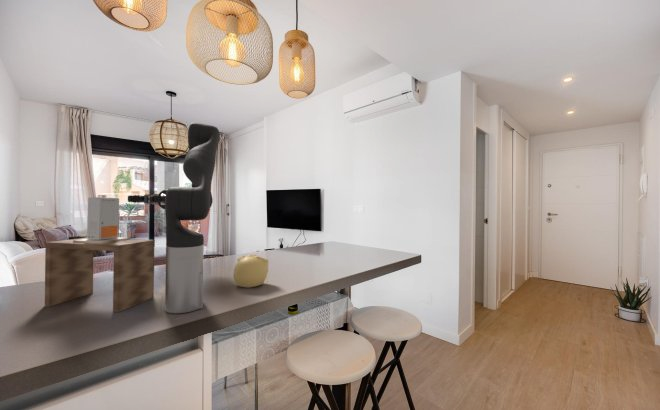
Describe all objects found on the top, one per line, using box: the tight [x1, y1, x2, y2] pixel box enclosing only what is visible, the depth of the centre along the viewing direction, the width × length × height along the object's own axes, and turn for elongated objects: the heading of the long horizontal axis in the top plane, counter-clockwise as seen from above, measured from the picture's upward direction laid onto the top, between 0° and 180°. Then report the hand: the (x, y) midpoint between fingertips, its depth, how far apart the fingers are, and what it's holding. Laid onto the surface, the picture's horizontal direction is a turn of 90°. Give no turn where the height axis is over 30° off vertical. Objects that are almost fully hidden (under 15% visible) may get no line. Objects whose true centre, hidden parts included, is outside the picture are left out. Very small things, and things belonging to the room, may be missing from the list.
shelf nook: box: [44, 236, 155, 313], centre depth 80 cm, size 12×23×18 cm, turn 81°
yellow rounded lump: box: [232, 254, 269, 288], centre depth 98 cm, size 11×12×11 cm
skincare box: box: [86, 196, 120, 240], centre depth 80 cm, size 6×4×12 cm
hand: (139, 198), depth 92 cm, fingers open, 8 cm apart
